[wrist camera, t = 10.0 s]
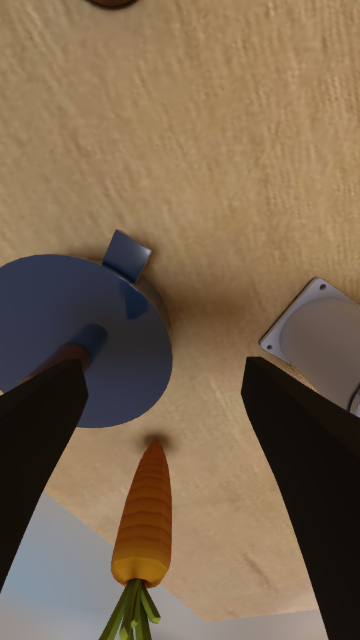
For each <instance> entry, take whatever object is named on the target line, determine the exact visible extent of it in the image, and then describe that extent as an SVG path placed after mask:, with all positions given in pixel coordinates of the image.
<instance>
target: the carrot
mask: <svg viewBox="0 0 360 640" xmlns="http://www.w3.org/2000/svg"><path fill="white" fill-rule="evenodd" d="M171 542H172V496H171V486H170V477H169V469H168V464H167V460H166V457H165V454H164V451H163V449H162V446H161V444H160V443H159V442H158V441H157V440H155V441H153V442H152V443H151V444H150V446H149V447H148V448H147V450H146V451H145V453H144V455H143V457H142V458H141V460H140V463H139V465H138V468H137V470H136V473H135V476H134V479H133V482H132V484H131V487H130V490H129V493H128V496H127V499H126V503H125V506H124V510H123V514H122V518H121V522H120V526H119V530H118V534H117V538H116V542H115V547H114V551H113V556H112V561H111V572H112V575H113V577H114V579H115V580H116V581H117V582H119V583H120V584H122V585H123V586H125V589H124V592H123V593H122V595H121V597H120V600H119V601H118V603H117V606H116V607H115V610H114V611H113V614H112V615H111V617H110V619H109V621H108V623H107V625H106V627H105V629H104V631H103V633H102V635H101V637H100V638H99V640H114V638H115V635H116V633H117V630H118V628H119V625H120V623H121V620H122V617H123V621H122V625H121V629H120V632H119V636H120V639H121V640H134V638H133V628H134V627H135V630H136V640H152V639H151V634H150V629H149V623H148V618H149V620H150V622H152V623H156V624H158V622H159V620H160V615H159V613H158V611H157V609H156V607H155V605H154V603H153V601H152V599H151V597H150V595H149V593H148V591H147V590H146V589H148V588H152V587H156V586H157V585H159V584H160V582H161V580H162V579H163V577H164V576H165V574H166V573H167V571H168V569H169V566H170V562H171ZM123 615H124V616H123ZM147 616H148V617H147Z"/></svg>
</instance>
